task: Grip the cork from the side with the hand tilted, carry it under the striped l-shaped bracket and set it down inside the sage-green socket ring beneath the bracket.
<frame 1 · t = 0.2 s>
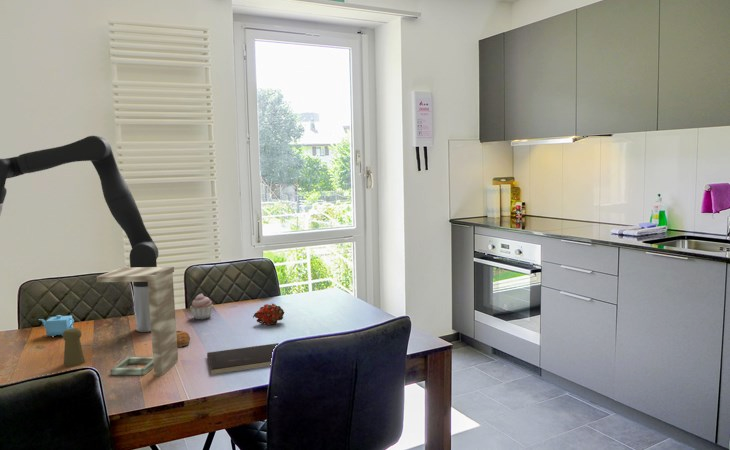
cupcake: (202, 318, 222), on the table
teapot: (57, 335, 203), on the table
pastry: (181, 344, 190), on the table
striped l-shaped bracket: (136, 368, 167), on the table
cork: (74, 363, 173), on the table
dragon fruit: (269, 324, 211), on the table
hardcover book: (247, 362, 172), on the table
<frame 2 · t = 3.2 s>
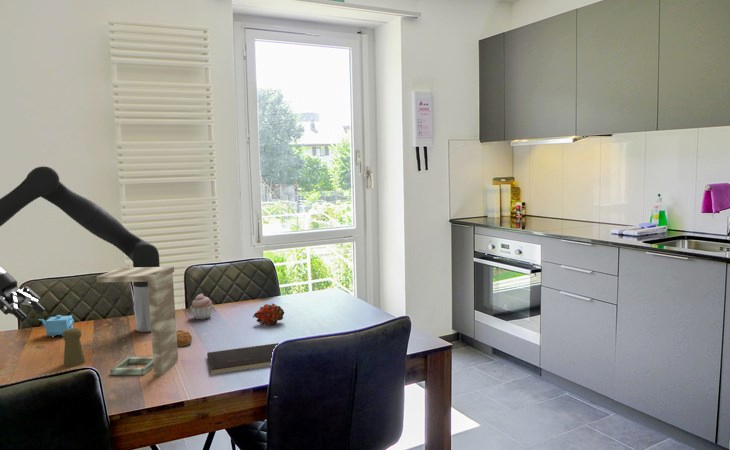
hand: (34, 316, 172), 15 cm above the table, tool tilted 45°, fingers open, 8 cm apart
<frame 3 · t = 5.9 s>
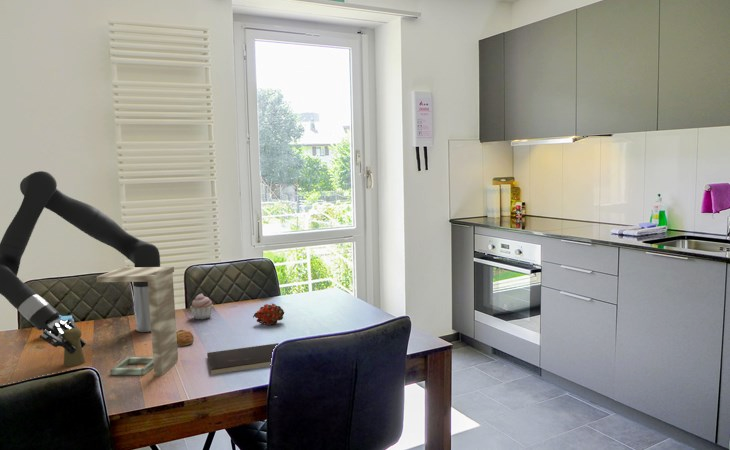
hand: (78, 348, 172), 5 cm above the table, tool tilted 45°, fingers closed on cork, 4 cm apart
cork: (74, 363, 173), on the table, touching gripper
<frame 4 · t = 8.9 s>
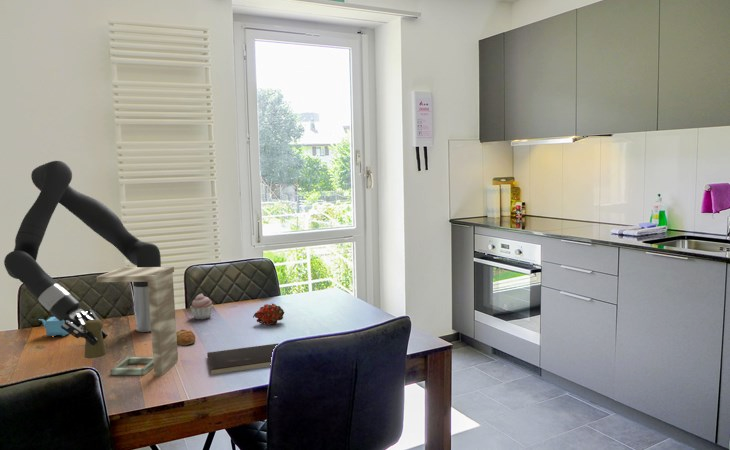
hand: (100, 340, 167), 9 cm above the table, tool tilted 45°, fingers closed on cork, 4 cm apart
cork: (95, 355, 167), point 4 cm above the table, touching gripper
when the fingers open (6 cm above the table, at t = 12.2 s): cork drops 1 cm, resting in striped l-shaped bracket.
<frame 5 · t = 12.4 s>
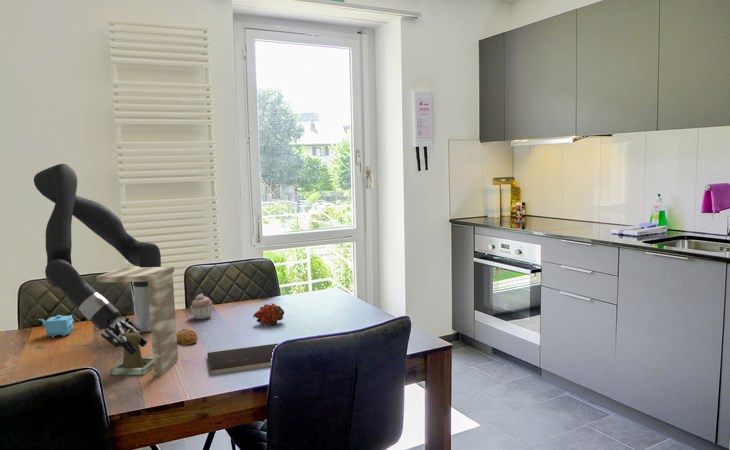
hand: (139, 348, 166), 6 cm above the table, tool tilted 45°, fingers open, 6 cm apart
cork: (133, 369, 166), resting in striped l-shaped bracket, touching gripper
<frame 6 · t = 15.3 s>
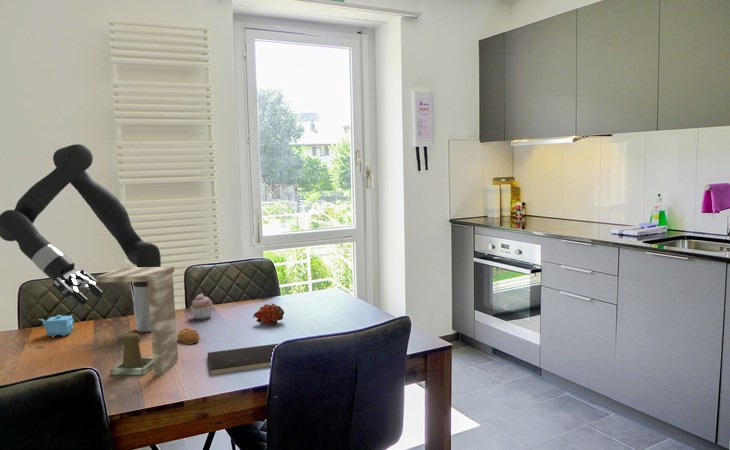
hand: (93, 299, 165), 22 cm above the table, tool tilted 45°, fingers open, 8 cm apart
cork: (133, 369, 166), resting in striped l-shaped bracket
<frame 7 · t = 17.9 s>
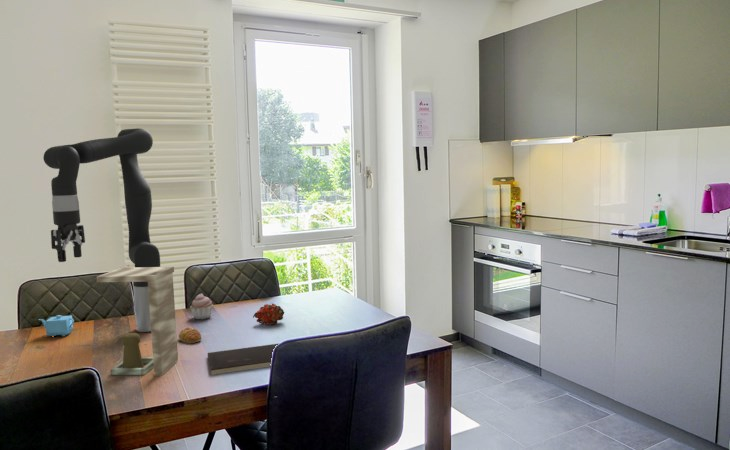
hand: (70, 259, 176), 32 cm above the table, tool pointing down, fingers open, 8 cm apart
at the end: cork inside the target area on the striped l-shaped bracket (1.0 cm from its centre), point 0.0 cm above the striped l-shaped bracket's base; cork tilted 0°; the gripper is holding nothing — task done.
